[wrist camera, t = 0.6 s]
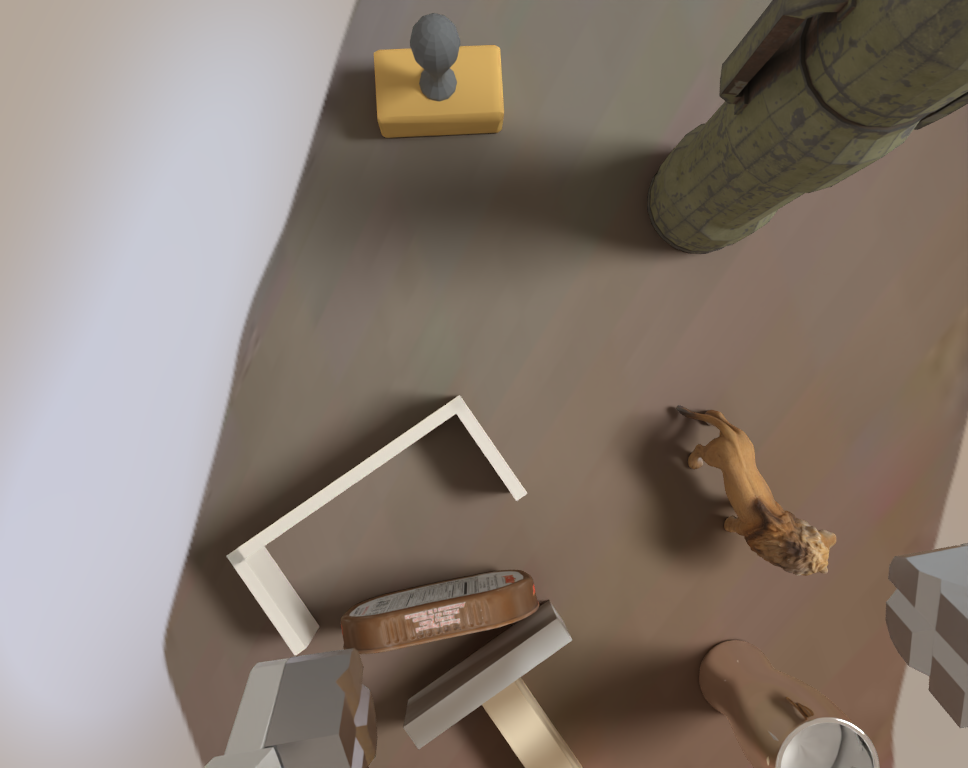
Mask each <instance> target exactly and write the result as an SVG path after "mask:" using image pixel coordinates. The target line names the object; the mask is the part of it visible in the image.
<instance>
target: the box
mask: <svg viewBox="0 0 968 768" xmlns="http://www.w3.org/2000/svg"><path fill="white" fill-rule="evenodd" d="M455 414H457V415H458V417H459V418H460V420H461V421H462V423H463V424H464V426H465V427H466V428H467V430H468V431H469V433H470V434H471V436H472V437H473V439H474V440H475V442H476V443H477V444H478V446H479V447H480V449H481V450H482V452H483V453H484V455H485V456H486V457H487V459H488V460H489V462H490V463H491V465H492V466H493V468H494V469H495V471H496V472H497V473H498V475H499V476H500V478H501V479H502V481H503V482H504V484H505V485H506V486H507V488H508V489H509V491H510V492H511V494H512V495H513V497H514V498H515V500H516V501H517V500H519V499H520V498H522V497H523V496H525V495H526V494H527V492H526V491H525V489H524V488H523V486H522V485H521V483H520V482H519V480H518V479H517V478H516V476H515V475H514V473H513V472H512V470H511V469H510V467H509V466H508V464H507V463H506V462H505V460H504V459H503V457H502V456H501V454H500V453H499V451H498V450H497V449H496V447H495V446H494V444H493V443H492V441H491V440H490V438H489V437H488V435H487V434H486V433H485V431H484V430H483V428H482V427H481V425H480V424H479V422H478V421H477V420H476V418H475V417H474V415H473V414H472V412H471V411H470V409H469V408H468V406H467V405H466V404H465V402H464V401H463V399H462V398H461V396H460V395H459V396H457V397H456V398H455V399H453V400H452V401H450V402H449V403H447V404H446V405H444V406H443V407H441V408H440V409H439V410H437V411H436V412H434V413H433V414H431V415H430V416H428V417H427V418H426V419H424V420H423V421H421V422H420V423H418V424H417V425H415V426H414V427H412V428H411V429H410V430H408V431H407V432H405V433H404V434H402V435H401V436H399V437H398V438H396V439H395V440H394V441H392V442H391V443H389V444H388V445H386V446H385V447H383V448H382V449H381V450H379V451H378V452H376V453H375V454H373V455H372V456H370V457H369V458H367V459H366V460H365V461H363V462H362V463H360V464H359V465H357V466H356V467H354V468H353V469H352V470H350V471H349V472H347V473H346V474H344V475H343V476H341V477H340V478H338V479H337V480H336V481H334V482H333V483H331V484H330V485H328V486H327V487H325V488H324V489H323V490H321V491H320V492H318V493H317V494H315V495H314V496H312V497H311V498H309V499H308V500H307V501H305V502H304V503H302V504H301V505H299V506H298V507H296V508H295V509H294V510H292V511H291V512H289V513H288V514H286V515H285V516H283V517H282V518H280V519H279V520H278V521H276V522H275V523H273V524H272V525H270V526H269V527H267V528H266V529H264V530H263V531H262V532H260V533H259V534H257V535H256V536H254V537H253V538H251V539H250V540H249V541H247V542H246V543H244V544H243V545H241V546H240V547H238V548H237V549H235V550H234V551H233V552H231V553H230V554H228V555H227V558H228V559H229V561H230V562H231V564H232V565H233V567H234V568H235V569H236V571H237V572H238V574H239V575H240V577H241V578H242V580H243V581H244V583H245V584H246V585H247V587H248V588H249V590H250V591H251V593H252V594H253V596H254V597H255V598H256V600H257V601H258V603H259V604H260V606H261V607H262V609H263V610H264V612H265V613H266V614H267V616H268V617H269V619H270V620H271V622H272V623H273V625H274V626H275V627H276V629H277V630H278V632H279V633H280V635H281V636H282V638H283V639H284V641H285V642H286V643H287V645H288V646H289V648H290V649H291V651H292V652H293V654H294V655H295V656H296V655H297V654H299V653H300V652H301V651H303V650H304V649H306V648H307V646H308V645H309V643H310V641H311V640H312V638H313V637H314V635H315V633H316V632H317V630H318V629H319V627H320V626H319V625H318V623H317V622H316V620H315V619H314V617H313V616H312V615H311V613H310V612H309V610H308V609H307V607H306V606H305V604H304V603H303V602H302V600H301V599H300V597H299V596H298V594H297V593H296V591H295V590H294V588H293V587H292V586H291V584H290V583H289V581H288V580H287V578H286V577H285V575H284V574H283V573H282V571H281V570H280V568H279V567H278V565H277V564H276V562H275V561H274V559H273V558H272V557H271V555H270V554H269V552H268V551H267V549H266V548H265V545H266V544H268V543H269V542H271V541H272V540H274V539H275V538H277V537H278V536H279V535H281V534H282V533H284V532H285V531H287V530H288V529H290V528H291V527H293V526H294V525H295V524H297V523H298V522H300V521H301V520H303V519H304V518H306V517H307V516H308V515H310V514H311V513H313V512H314V511H316V510H317V509H319V508H320V507H321V506H323V505H324V504H326V503H327V502H329V501H330V500H332V499H333V498H335V497H336V496H337V495H339V494H340V493H342V492H343V491H345V490H346V489H348V488H349V487H350V486H352V485H353V484H355V483H356V482H358V481H359V480H361V479H362V478H363V477H365V476H366V475H368V474H369V473H371V472H372V471H374V470H375V469H377V468H378V467H379V466H381V465H382V464H384V463H385V462H387V461H388V460H390V459H391V458H392V457H394V456H395V455H397V454H398V453H400V452H401V451H403V450H404V449H405V448H407V447H408V446H410V445H411V444H413V443H414V442H416V441H417V440H419V439H420V438H421V437H423V436H424V435H426V434H427V433H429V432H430V431H432V430H433V429H434V428H436V427H437V426H439V425H440V424H442V423H443V422H445V421H446V420H448V419H449V418H450V417H452V416H453V415H455Z"/></svg>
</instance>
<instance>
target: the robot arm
mask: <svg viewBox="0 0 968 768" xmlns="http://www.w3.org/2000/svg"><path fill="white" fill-rule="evenodd" d="M888 579H889V580H890V581H891V582H892V583H893V584H894V585H895V587H896V588H897V590H896V591H895V592H894V593H893V595H892V596H891V597H890V598H889V600H888V601H887V602H886V624H887V627H888V631H889V634H890V638H891V640H892V642H893V644H894V646H895V648H896V649H897V651H898V653H899V654H900V655H901V657H902V658H903V659H904V661H905V662H906V663H907V664H908V666H910V667H912V668H914V669H916V670H918V671H920V672H922V673H924V674H926V675H928V676H929V691H930V692H931V694H932V695H933V696H934V697H935V698H936V700H937V701H938V702H939V703H940V705H941V706H942V707H943V708H944V709H945V711H946V712H947V713H948V714H949V715H950V717H952V719H953V720H954V721H955V723H956V724H957V725H958V726H959V727H960V728H964V727H968V543H965V544H962V545H960V546H952V547H946V548H940V549H934V550H929V551H923V552H917V553H912V554H906V555H901V556H895V557H894V558H893V560H892V562H891V564H890V567H889V577H888ZM363 668H364V667H363V664H362V661H361V658H360V655H359V652H358V650H356V649H355V648H351V649H345V650H338V651H331V652H324V653H317V654H310V655H303V656H296V657H290V658H289V659H280V660H273V661H266V662H259V663H257V664H256V665H255V666H254V667H253V669H252V670H251V672H250V675H249V678H248V681H247V684H246V687H245V691H244V694H243V697H242V700H241V703H240V706H239V709H238V713H237V716H236V719H235V722H234V725H233V728H232V731H231V735H230V738H229V741H228V744H227V747H226V750H225V753H224V756H218V757H214V758H213V759H212V760H211V761H210V762H209V763H208V764H207V765H206V766H205V767H204V768H369V767H368V766H369V765H370V764H371V762H372V761H373V760H374V758H375V757H376V749H377V723H376V713H375V707H374V702H373V698H372V695H371V691H370V689H368V688H367V687H366V686H364V685H363V684H362V677H363Z"/></svg>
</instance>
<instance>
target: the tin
mask: <svg viewBox="0 0 968 768" xmlns="http://www.w3.org/2000/svg"><path fill="white" fill-rule="evenodd" d="M538 608H539V602H538V601H537V598H536V593H535V588H534V583H533V579H532V577H531V576H530V575H529V574H527V573H526V572H524V571H521V570H502V571H494V572H488V573H482V574H477V575H473V576H468V577H462V578H457V579H452V580H447V581H442V582H437V583H432V584H428V585H423V586H418V587H414V588H409V589H405V590H400V591H396V592H392V593H388V594H385V595H381V596H378V597H374V598H371V599H368V600H366V601H363V602H361V603H358V604H356V605H354V606H353V607H351V608H350V609H349V610H348V611H347V612H346V613H345V614H344V615H343V616H342V617H341V628H342V634H343V639H344V650H345V649H351V648H355V649H356V650H358V652H359V654H372V653H380V652H385V651H391V650H396V649H400V648H405V647H410V646H414V645H419V644H424V643H428V642H433V641H438V640H443V639H447V638H452V637H457V636H462V635H466V634H471V633H476V632H481V631H486V630H490V629H495V628H499V627H502V626H505V625H508V624H512V623H514V622H516V621H519V620H522V619H524V618H526V617H528V616H530V615H531V614H533V613H534V612H536V611H537V609H538Z"/></svg>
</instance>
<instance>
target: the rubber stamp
mask: <svg viewBox="0 0 968 768" xmlns="http://www.w3.org/2000/svg"><path fill="white" fill-rule="evenodd" d="M410 46H411V49H390V50H378V51H376V52H375V53H374V66H375V83H376V101H377V118H378V124H379V127H380V130H381V134H382V135H383V136H384V137H386V138H392V137H413V136H434V135H456V134H477V133H498V132H499V131H501V130H502V124H503V117H504V105H503V89H502V72H501V56H500V48H499V47H497V46H495V45H483V46H460V38H459V35H458V32H457V29H456V26H455V25H454V24H453V23H452V22H451V21H450V20H449V19H448V18H447V17H446V16H444V15H440V14H435V13H432V14H429V15H425V16H422V17H421V19H420V20H419V21H418V22H417V23H416V24H415V25H414V26H413V30H412V34H411V39H410Z"/></svg>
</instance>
